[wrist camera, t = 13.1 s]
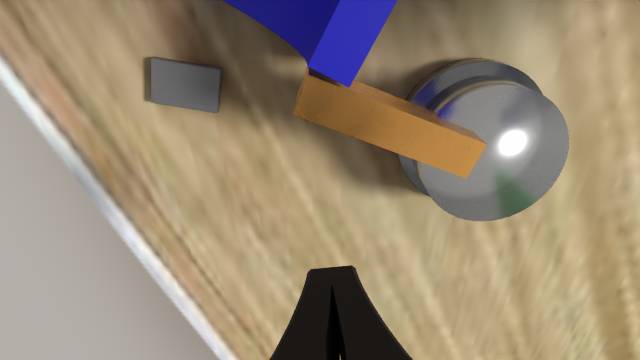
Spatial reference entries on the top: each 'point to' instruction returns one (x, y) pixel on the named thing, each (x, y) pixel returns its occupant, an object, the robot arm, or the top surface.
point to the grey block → (185, 84)
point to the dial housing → (450, 76)
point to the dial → (454, 138)
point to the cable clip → (324, 30)
